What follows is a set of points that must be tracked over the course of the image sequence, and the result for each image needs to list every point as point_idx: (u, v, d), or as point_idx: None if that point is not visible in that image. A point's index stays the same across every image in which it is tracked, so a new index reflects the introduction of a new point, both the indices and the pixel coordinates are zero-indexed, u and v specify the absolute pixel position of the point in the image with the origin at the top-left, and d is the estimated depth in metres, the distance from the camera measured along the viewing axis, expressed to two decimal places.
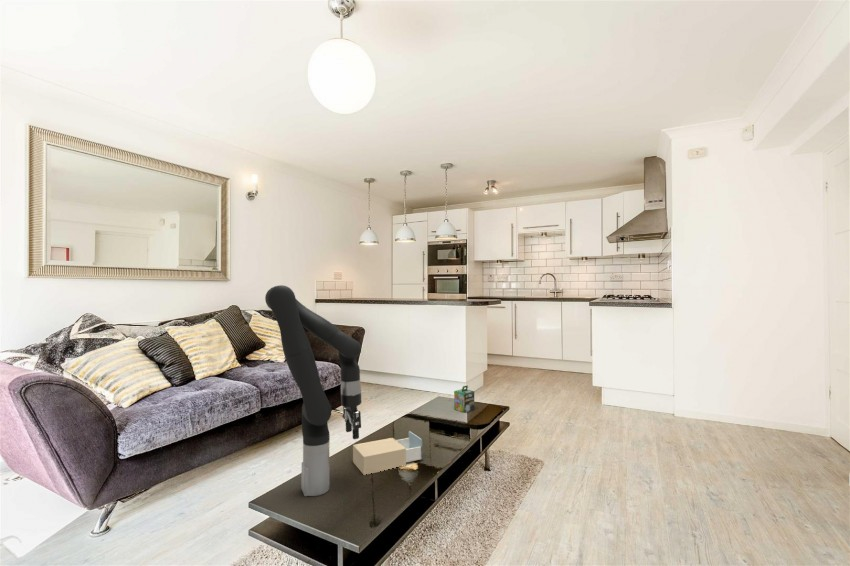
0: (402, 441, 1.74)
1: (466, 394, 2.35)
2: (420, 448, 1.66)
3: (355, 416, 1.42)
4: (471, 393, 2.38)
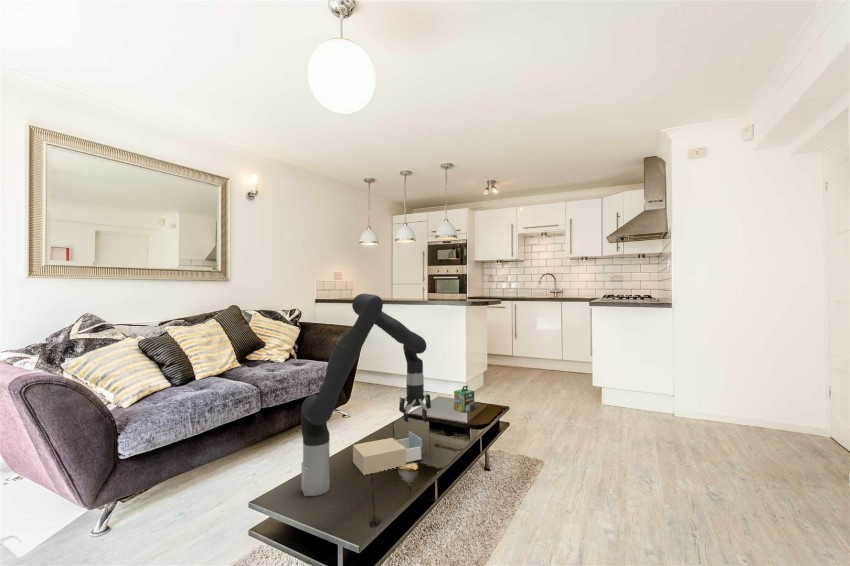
0: (402, 441, 1.74)
1: (466, 394, 2.35)
2: (420, 448, 1.66)
3: None
4: (471, 393, 2.38)
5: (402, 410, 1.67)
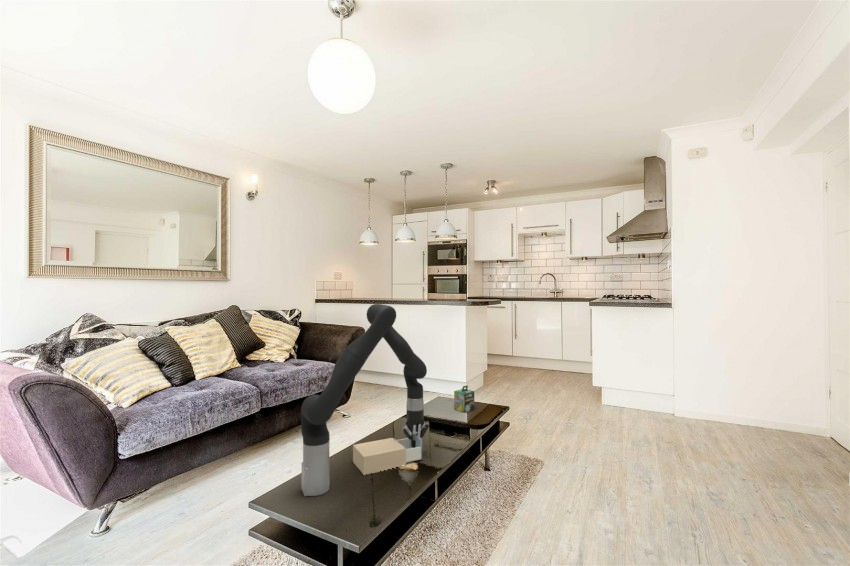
0: (402, 441, 1.74)
1: (466, 394, 2.35)
2: (420, 448, 1.65)
3: None
4: (471, 393, 2.38)
5: (410, 437, 1.69)
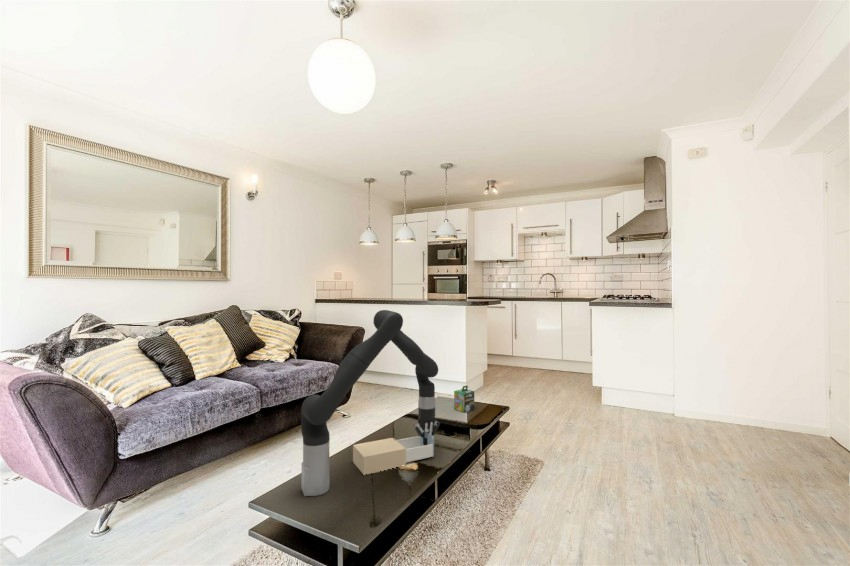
0: (414, 439, 1.77)
1: (466, 394, 2.35)
2: (432, 446, 1.68)
3: None
4: (471, 393, 2.38)
5: (422, 435, 1.71)
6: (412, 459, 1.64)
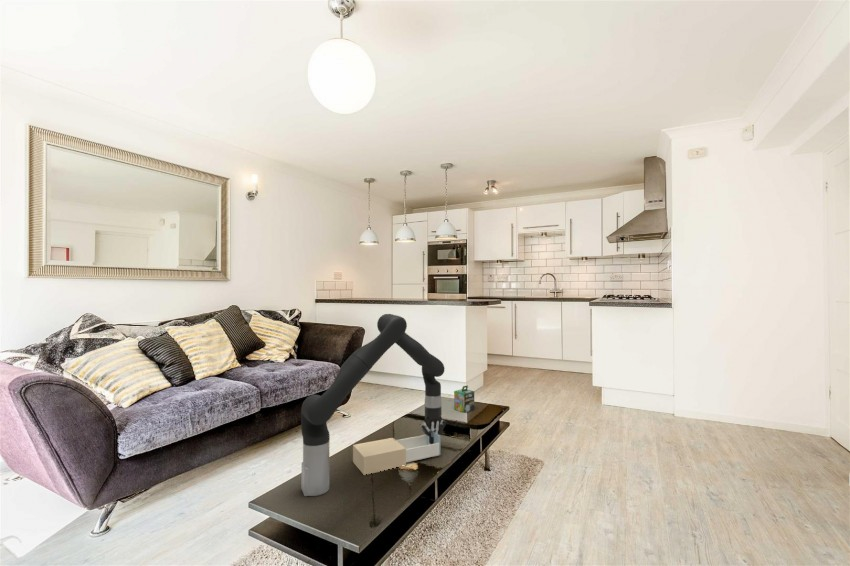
0: (420, 438, 1.78)
1: (466, 394, 2.35)
2: (438, 444, 1.70)
3: None
4: (471, 393, 2.38)
5: (428, 433, 1.73)
6: (419, 458, 1.65)
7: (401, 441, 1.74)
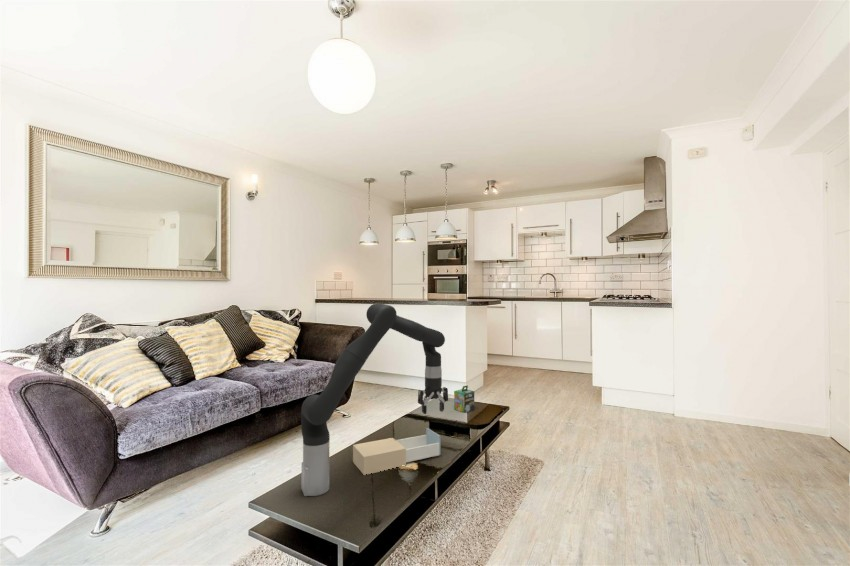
0: (420, 438, 1.78)
1: (466, 394, 2.35)
2: (438, 444, 1.70)
3: None
4: (471, 393, 2.38)
5: (421, 402, 1.72)
6: (419, 458, 1.65)
7: (401, 441, 1.74)
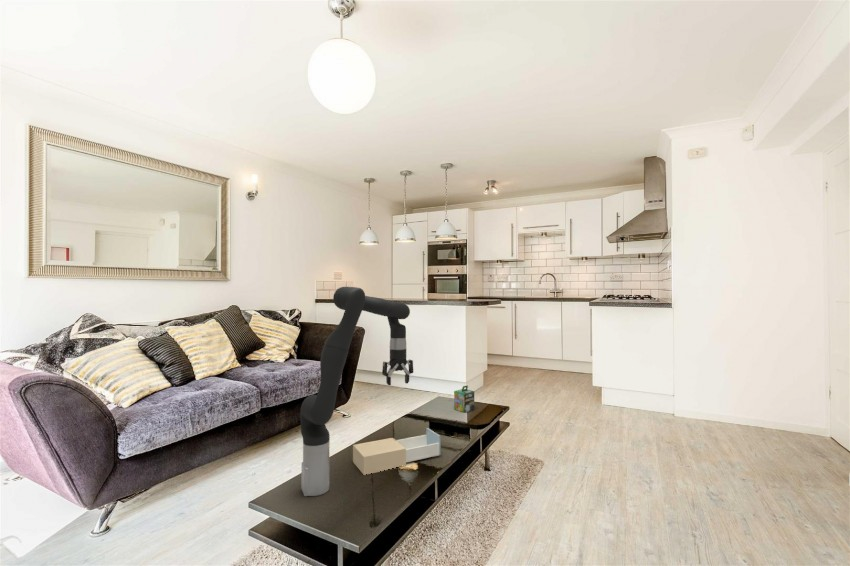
0: (420, 438, 1.78)
1: (466, 394, 2.35)
2: (438, 444, 1.70)
3: None
4: (471, 393, 2.38)
5: (385, 373, 1.73)
6: (419, 458, 1.65)
7: (401, 441, 1.74)
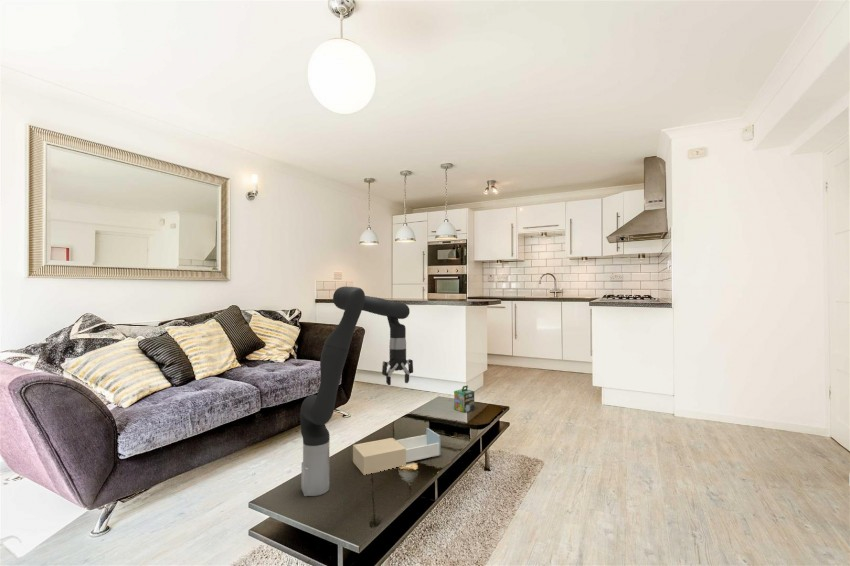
0: (420, 438, 1.78)
1: (466, 394, 2.35)
2: (438, 444, 1.70)
3: None
4: (471, 393, 2.38)
5: (385, 373, 1.73)
6: (419, 458, 1.65)
7: (401, 441, 1.74)
